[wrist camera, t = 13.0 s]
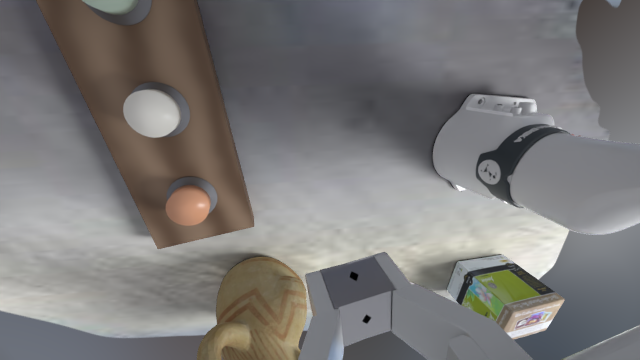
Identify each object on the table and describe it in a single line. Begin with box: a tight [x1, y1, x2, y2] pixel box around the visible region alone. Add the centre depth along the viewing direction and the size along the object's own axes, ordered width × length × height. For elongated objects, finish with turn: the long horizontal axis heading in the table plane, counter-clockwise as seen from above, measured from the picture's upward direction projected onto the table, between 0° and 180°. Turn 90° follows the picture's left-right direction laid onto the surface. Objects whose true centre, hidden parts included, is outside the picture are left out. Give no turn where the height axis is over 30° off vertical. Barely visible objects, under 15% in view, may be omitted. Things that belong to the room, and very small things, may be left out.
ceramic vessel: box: [197, 257, 307, 360], centre depth 36 cm, size 17×20×25 cm
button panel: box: [36, 0, 254, 249], centre depth 31 cm, size 14×38×3 cm, turn 6°
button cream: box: [123, 89, 181, 138], centre depth 28 cm, size 5×5×2 cm
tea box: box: [447, 255, 565, 340], centre depth 58 cm, size 15×10×15 cm, turn 86°
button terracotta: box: [166, 185, 211, 226], centre depth 33 cm, size 5×5×2 cm
